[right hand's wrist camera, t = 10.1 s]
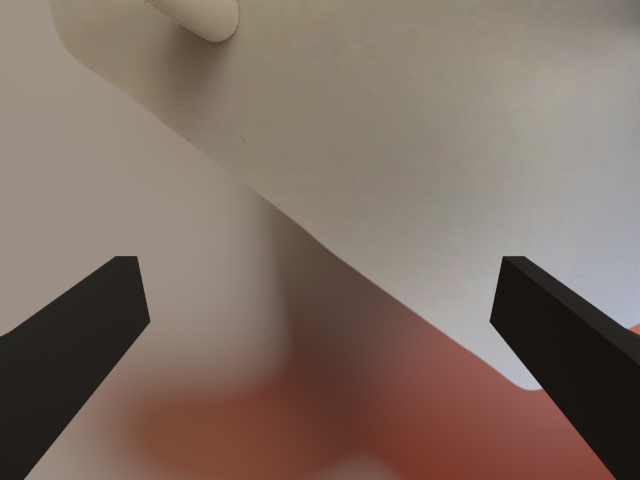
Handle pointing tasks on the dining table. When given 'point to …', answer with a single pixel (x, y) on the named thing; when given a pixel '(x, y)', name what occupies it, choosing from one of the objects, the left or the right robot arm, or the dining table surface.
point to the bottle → (202, 16)
